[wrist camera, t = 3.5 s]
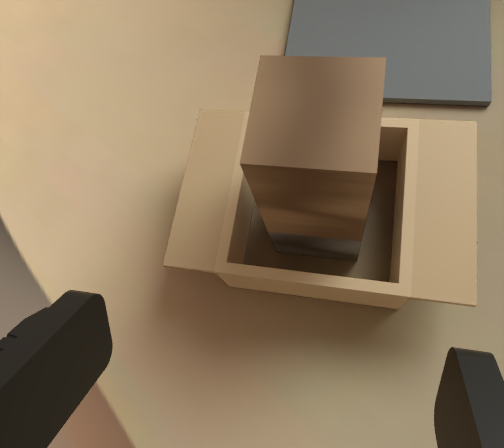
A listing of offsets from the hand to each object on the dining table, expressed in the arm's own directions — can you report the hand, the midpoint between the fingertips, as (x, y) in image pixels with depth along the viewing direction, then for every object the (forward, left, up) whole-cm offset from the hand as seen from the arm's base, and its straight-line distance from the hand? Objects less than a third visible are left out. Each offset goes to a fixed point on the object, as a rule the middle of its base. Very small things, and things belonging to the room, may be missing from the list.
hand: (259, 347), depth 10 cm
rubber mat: (-3, -24, -16) cm, 29 cm away
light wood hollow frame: (0, -9, -16) cm, 18 cm away
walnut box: (0, -9, -16) cm, 18 cm away
